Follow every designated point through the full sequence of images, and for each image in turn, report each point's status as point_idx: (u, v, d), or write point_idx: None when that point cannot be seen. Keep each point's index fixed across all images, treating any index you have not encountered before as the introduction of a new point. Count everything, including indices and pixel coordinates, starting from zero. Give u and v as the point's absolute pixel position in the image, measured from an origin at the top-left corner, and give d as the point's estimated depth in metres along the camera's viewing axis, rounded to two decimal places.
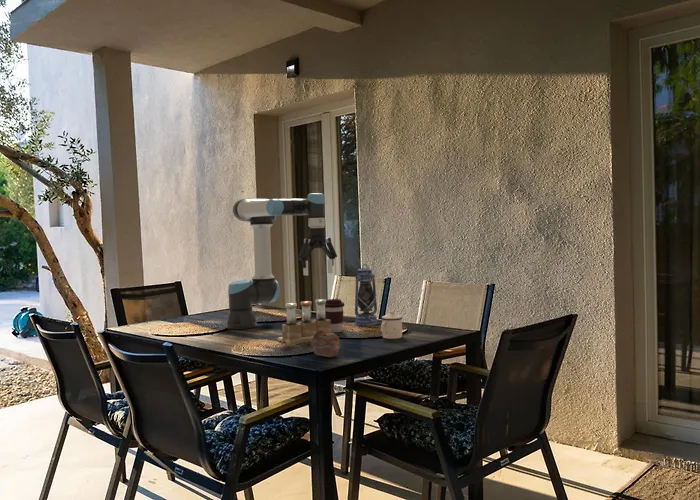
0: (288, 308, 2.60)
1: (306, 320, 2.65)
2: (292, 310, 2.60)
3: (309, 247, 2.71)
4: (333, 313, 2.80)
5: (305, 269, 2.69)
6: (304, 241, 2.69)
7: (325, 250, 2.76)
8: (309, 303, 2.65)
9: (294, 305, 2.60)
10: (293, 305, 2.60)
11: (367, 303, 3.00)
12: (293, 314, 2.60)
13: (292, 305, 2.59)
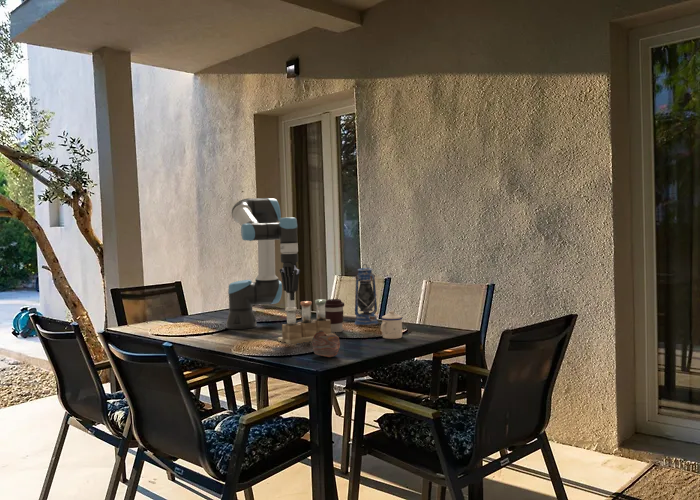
0: (288, 312, 2.60)
1: (306, 320, 2.65)
2: (292, 314, 2.60)
3: None
4: (333, 313, 2.80)
5: None
6: None
7: None
8: (309, 303, 2.65)
9: (294, 309, 2.60)
10: (293, 309, 2.60)
11: (367, 303, 3.00)
12: (293, 318, 2.60)
13: (292, 309, 2.60)
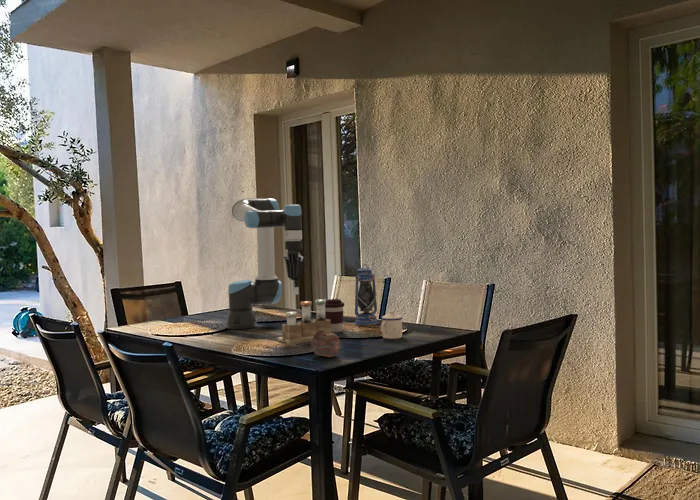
0: (288, 317, 2.60)
1: (306, 320, 2.65)
2: (292, 319, 2.60)
3: None
4: (333, 313, 2.80)
5: None
6: None
7: None
8: (309, 303, 2.65)
9: (294, 314, 2.60)
10: (293, 314, 2.60)
11: (367, 303, 3.00)
12: (293, 323, 2.60)
13: (292, 314, 2.60)
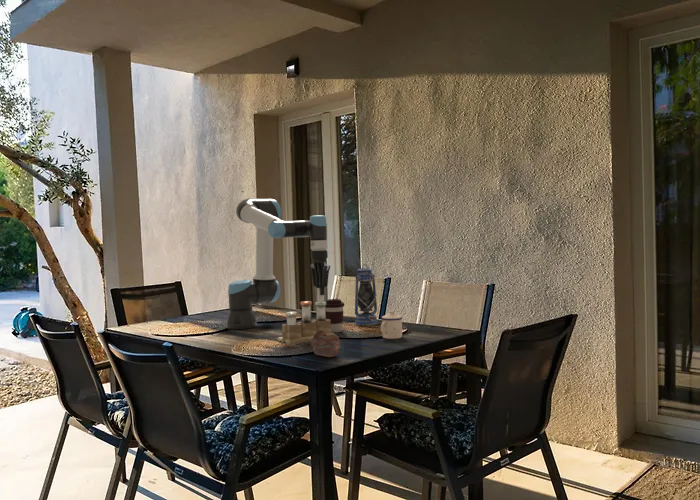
0: (288, 317, 2.60)
1: (306, 320, 2.65)
2: (292, 319, 2.60)
3: None
4: (333, 313, 2.80)
5: None
6: None
7: None
8: (309, 303, 2.65)
9: (294, 314, 2.60)
10: (293, 314, 2.60)
11: (367, 303, 3.00)
12: (293, 323, 2.60)
13: (292, 314, 2.60)
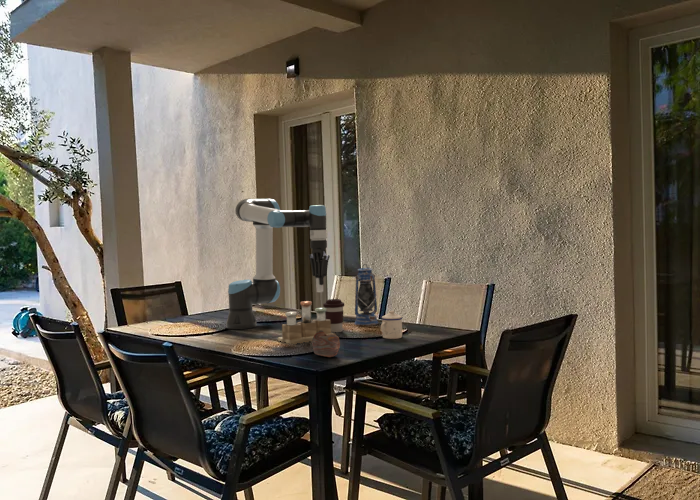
0: (288, 317, 2.60)
1: (306, 320, 2.65)
2: (292, 319, 2.60)
3: None
4: (333, 313, 2.80)
5: None
6: None
7: None
8: (309, 303, 2.65)
9: (294, 314, 2.60)
10: (293, 314, 2.60)
11: (367, 303, 3.00)
12: (293, 323, 2.60)
13: (292, 314, 2.60)
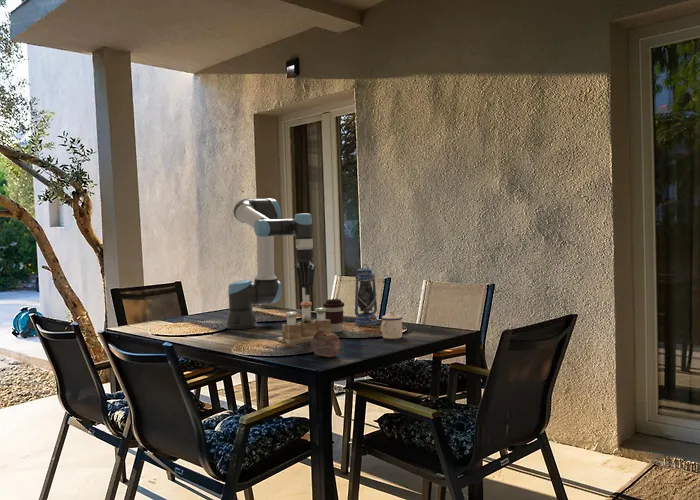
0: (288, 317, 2.60)
1: (307, 321, 2.65)
2: (292, 319, 2.60)
3: None
4: (333, 313, 2.80)
5: None
6: None
7: None
8: (309, 304, 2.65)
9: (294, 314, 2.60)
10: (293, 314, 2.60)
11: (367, 303, 3.00)
12: (293, 323, 2.60)
13: (292, 314, 2.60)
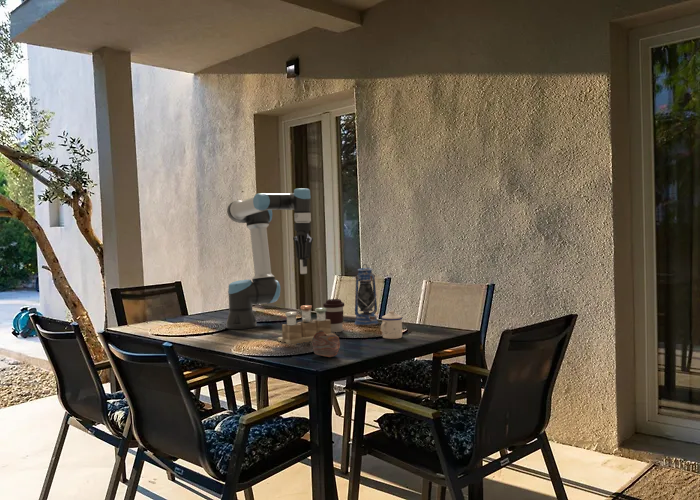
0: (288, 317, 2.60)
1: None
2: (292, 319, 2.60)
3: None
4: (333, 313, 2.80)
5: None
6: None
7: None
8: (309, 307, 2.65)
9: (294, 314, 2.60)
10: (293, 314, 2.60)
11: (367, 303, 3.00)
12: (293, 323, 2.60)
13: (292, 314, 2.60)
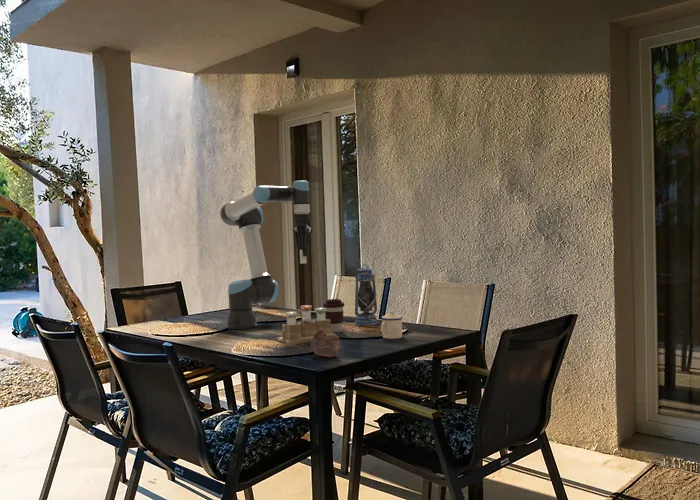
0: (288, 317, 2.60)
1: None
2: (292, 319, 2.60)
3: None
4: (333, 313, 2.80)
5: None
6: None
7: None
8: (309, 307, 2.65)
9: (294, 314, 2.60)
10: (293, 314, 2.60)
11: (367, 303, 3.00)
12: (293, 323, 2.60)
13: (292, 314, 2.60)
